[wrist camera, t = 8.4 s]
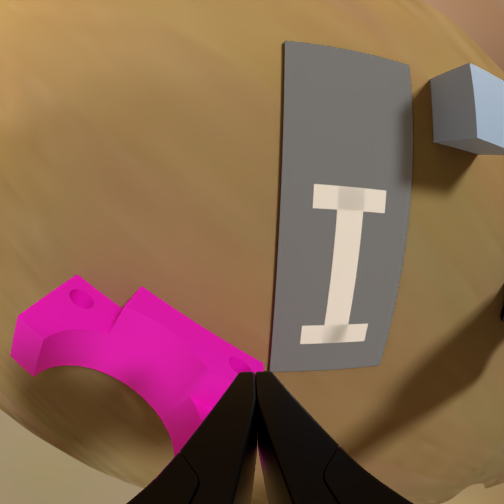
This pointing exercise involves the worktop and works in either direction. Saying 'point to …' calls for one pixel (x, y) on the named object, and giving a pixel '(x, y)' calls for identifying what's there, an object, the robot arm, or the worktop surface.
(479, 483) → the worktop surface
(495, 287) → the worktop surface
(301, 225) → the letter mat
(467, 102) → the slate blue cube
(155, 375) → the toy block
